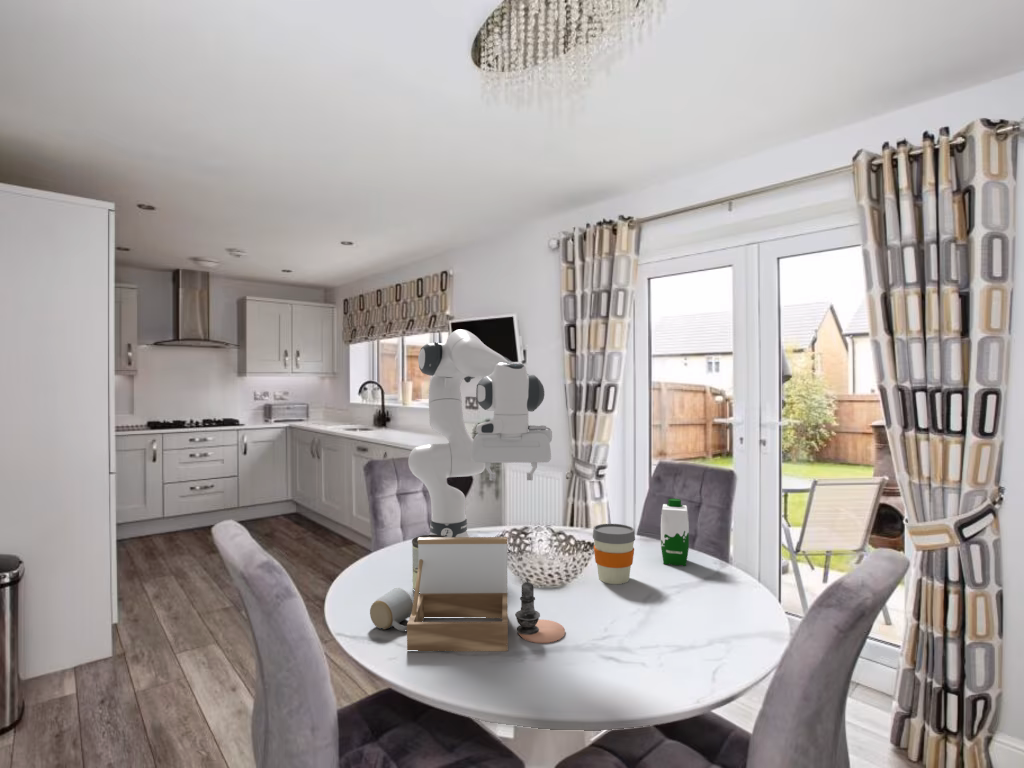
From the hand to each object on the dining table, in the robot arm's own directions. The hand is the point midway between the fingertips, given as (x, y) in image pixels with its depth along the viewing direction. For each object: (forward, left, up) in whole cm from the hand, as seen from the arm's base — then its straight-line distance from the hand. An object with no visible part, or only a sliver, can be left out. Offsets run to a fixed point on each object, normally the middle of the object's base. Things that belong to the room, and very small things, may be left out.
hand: (511, 480), depth 139 cm
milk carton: (-40, +54, -34) cm, 75 cm away
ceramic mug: (+5, -28, -34) cm, 45 cm away
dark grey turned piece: (+10, +4, -34) cm, 35 cm away
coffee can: (-18, -23, -34) cm, 45 cm away
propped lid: (+8, -12, -29) cm, 32 cm away
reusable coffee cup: (-25, +31, -34) cm, 53 cm away
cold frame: (+10, -12, -34) cm, 37 cm away
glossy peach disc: (+10, +7, -34) cm, 36 cm away
